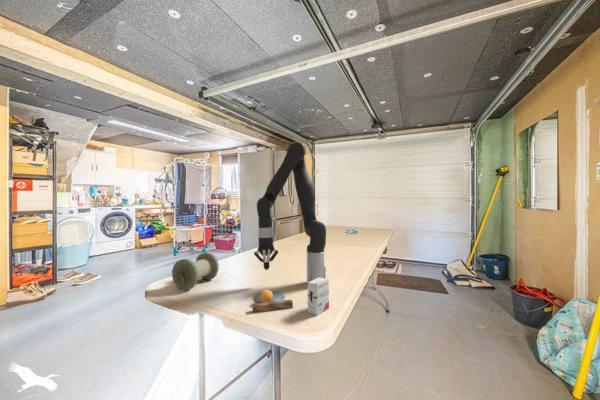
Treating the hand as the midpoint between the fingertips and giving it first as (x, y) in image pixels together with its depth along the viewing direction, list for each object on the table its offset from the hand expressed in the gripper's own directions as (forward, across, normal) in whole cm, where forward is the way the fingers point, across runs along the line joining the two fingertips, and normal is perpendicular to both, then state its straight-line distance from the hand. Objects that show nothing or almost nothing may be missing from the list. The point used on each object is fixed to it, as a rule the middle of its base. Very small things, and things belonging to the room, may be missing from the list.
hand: (266, 269), depth 114 cm
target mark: (+8, 0, -15) cm, 17 cm away
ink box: (+9, +18, -31) cm, 37 cm away
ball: (+6, -2, -20) cm, 21 cm away
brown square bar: (+8, 0, -26) cm, 27 cm away
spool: (+8, -36, +12) cm, 39 cm away
